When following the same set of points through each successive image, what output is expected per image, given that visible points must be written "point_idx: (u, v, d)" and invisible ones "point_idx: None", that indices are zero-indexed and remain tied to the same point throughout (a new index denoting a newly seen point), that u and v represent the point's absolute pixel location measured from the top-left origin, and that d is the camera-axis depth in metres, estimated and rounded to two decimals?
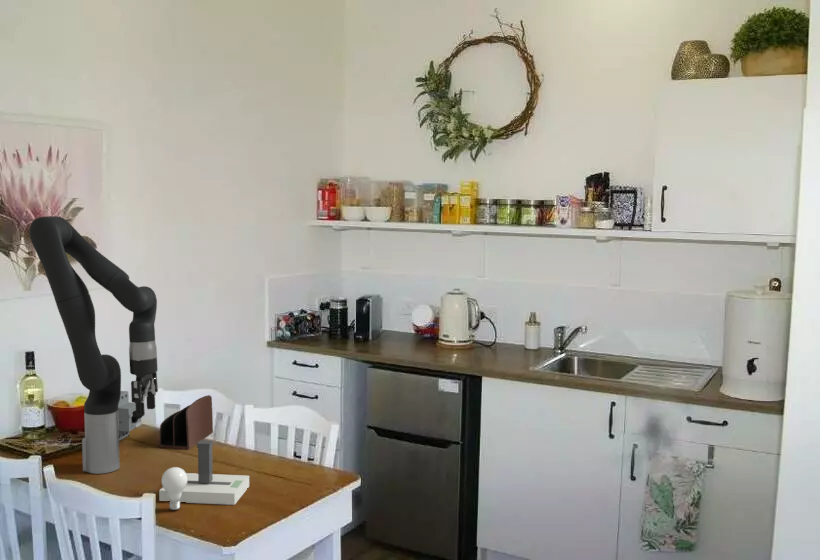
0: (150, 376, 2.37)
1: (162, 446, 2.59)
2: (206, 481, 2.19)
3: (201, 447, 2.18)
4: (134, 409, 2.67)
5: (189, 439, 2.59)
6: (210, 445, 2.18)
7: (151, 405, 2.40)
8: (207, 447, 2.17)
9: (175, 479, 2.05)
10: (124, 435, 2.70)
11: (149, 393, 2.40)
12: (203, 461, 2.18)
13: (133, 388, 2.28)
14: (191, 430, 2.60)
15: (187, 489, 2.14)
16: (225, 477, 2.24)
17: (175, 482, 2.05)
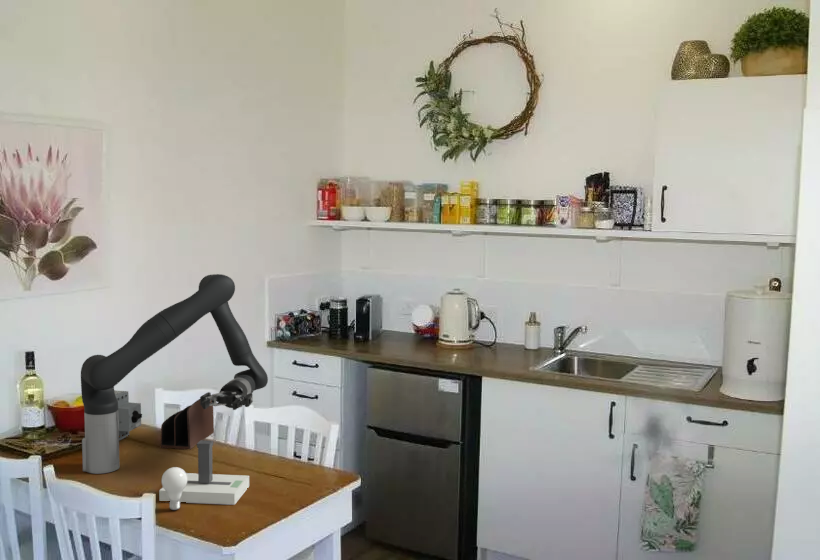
0: None
1: (163, 446, 2.59)
2: (206, 481, 2.19)
3: (201, 447, 2.18)
4: (134, 409, 2.67)
5: (190, 439, 2.59)
6: (210, 445, 2.18)
7: (206, 405, 2.31)
8: (207, 447, 2.17)
9: (175, 479, 2.05)
10: (124, 435, 2.70)
11: (209, 400, 2.35)
12: (203, 461, 2.18)
13: (251, 397, 2.38)
14: (192, 430, 2.60)
15: (187, 489, 2.14)
16: (225, 477, 2.24)
17: (175, 482, 2.05)
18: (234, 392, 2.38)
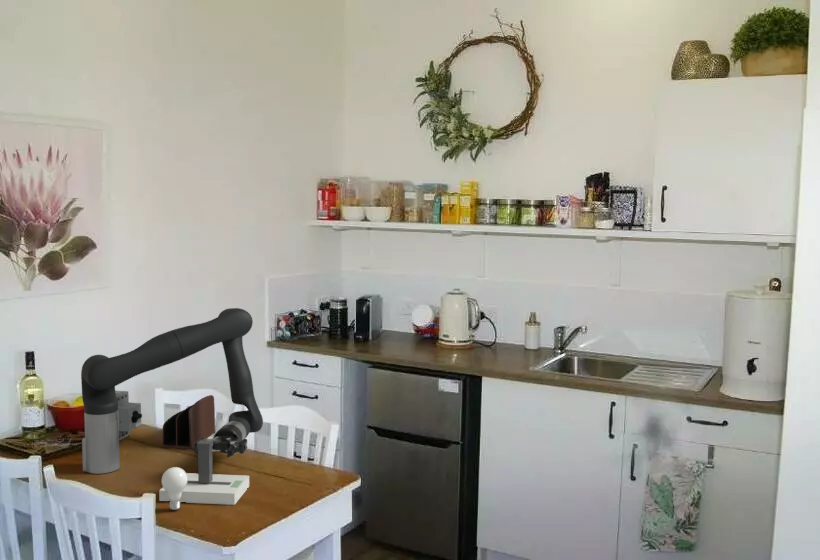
0: None
1: (165, 446, 2.59)
2: (206, 481, 2.19)
3: (201, 447, 2.18)
4: (134, 409, 2.67)
5: (192, 439, 2.59)
6: (210, 445, 2.18)
7: None
8: (207, 447, 2.17)
9: (175, 479, 2.05)
10: (124, 435, 2.70)
11: None
12: (203, 461, 2.18)
13: (246, 443, 2.34)
14: (194, 430, 2.60)
15: (187, 489, 2.14)
16: (225, 477, 2.24)
17: (175, 482, 2.05)
18: (229, 438, 2.34)
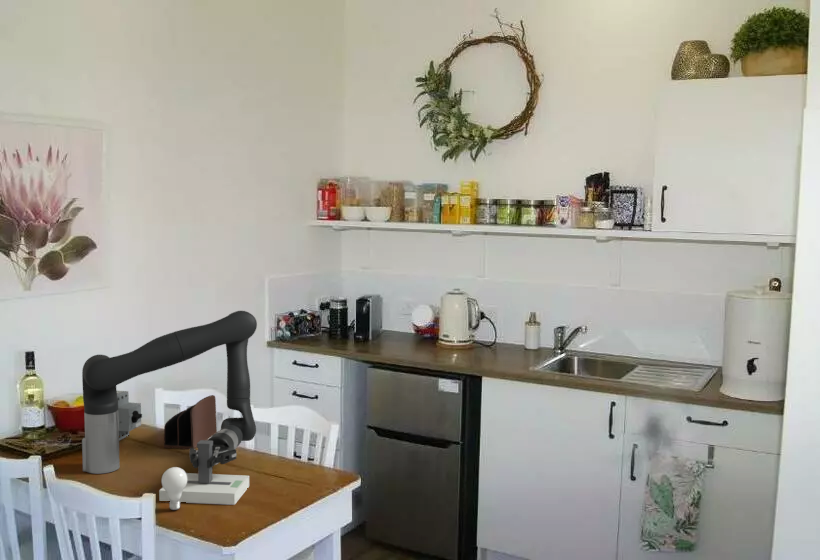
0: None
1: (166, 446, 2.60)
2: (206, 481, 2.19)
3: (201, 447, 2.18)
4: (134, 409, 2.67)
5: (194, 439, 2.59)
6: (210, 445, 2.18)
7: (197, 464, 2.18)
8: (207, 447, 2.17)
9: (175, 479, 2.05)
10: (124, 435, 2.70)
11: None
12: (203, 461, 2.18)
13: (232, 454, 2.24)
14: (195, 430, 2.60)
15: (187, 489, 2.14)
16: (225, 477, 2.24)
17: (175, 482, 2.05)
18: (218, 447, 2.25)
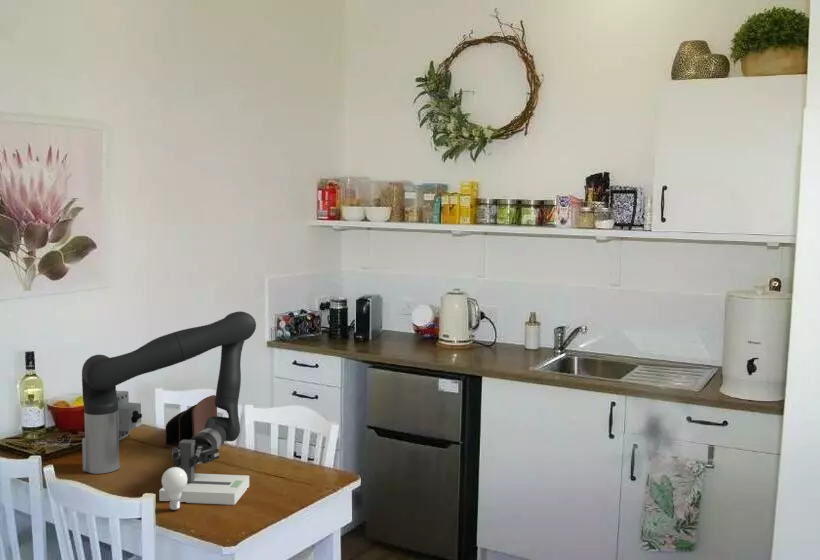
0: None
1: (168, 446, 2.60)
2: (188, 480, 2.19)
3: (183, 446, 2.18)
4: (134, 409, 2.67)
5: None
6: (192, 444, 2.18)
7: (179, 463, 2.18)
8: (189, 446, 2.18)
9: (175, 479, 2.05)
10: (124, 435, 2.70)
11: None
12: (184, 460, 2.18)
13: (214, 453, 2.24)
14: (197, 430, 2.61)
15: (187, 489, 2.14)
16: (225, 477, 2.24)
17: (175, 482, 2.05)
18: (200, 446, 2.26)
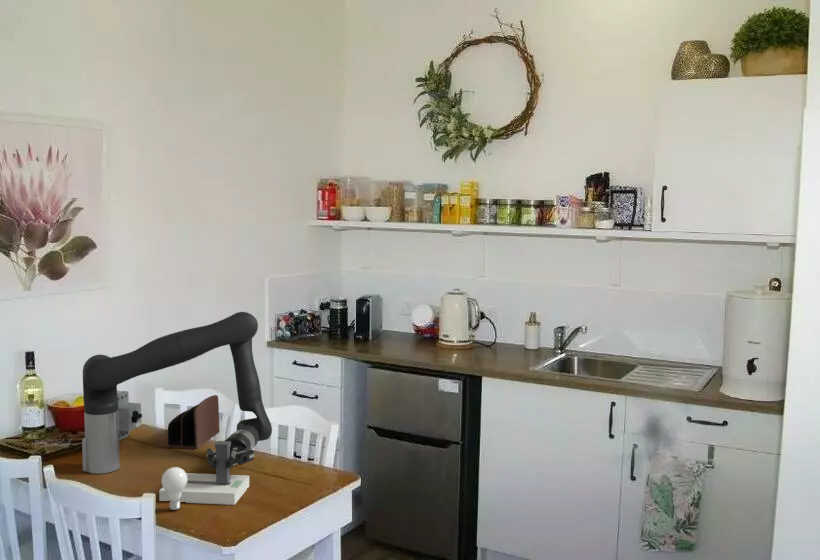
0: None
1: (170, 446, 2.60)
2: (224, 482, 2.18)
3: (219, 448, 2.17)
4: (134, 409, 2.67)
5: (197, 439, 2.59)
6: (228, 446, 2.18)
7: (215, 464, 2.17)
8: (225, 448, 2.17)
9: (175, 479, 2.05)
10: (124, 435, 2.70)
11: None
12: (220, 462, 2.18)
13: (249, 454, 2.23)
14: (199, 430, 2.61)
15: (187, 489, 2.14)
16: None
17: (175, 482, 2.05)
18: (235, 448, 2.25)
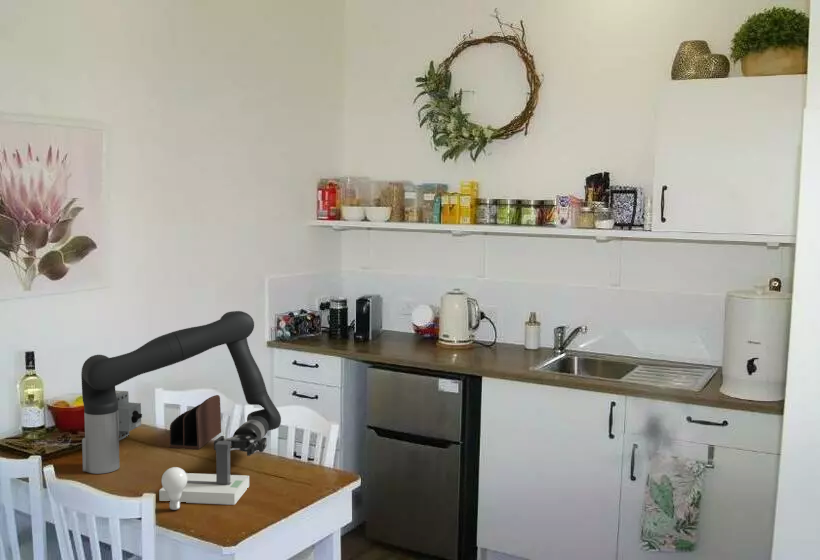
0: None
1: (172, 446, 2.60)
2: (224, 482, 2.18)
3: (219, 448, 2.17)
4: (134, 409, 2.67)
5: (199, 439, 2.59)
6: (228, 446, 2.18)
7: None
8: (225, 448, 2.17)
9: (175, 479, 2.05)
10: (124, 435, 2.70)
11: None
12: (221, 462, 2.18)
13: (265, 441, 2.35)
14: (201, 430, 2.61)
15: (187, 489, 2.14)
16: None
17: (175, 482, 2.05)
18: (248, 436, 2.36)
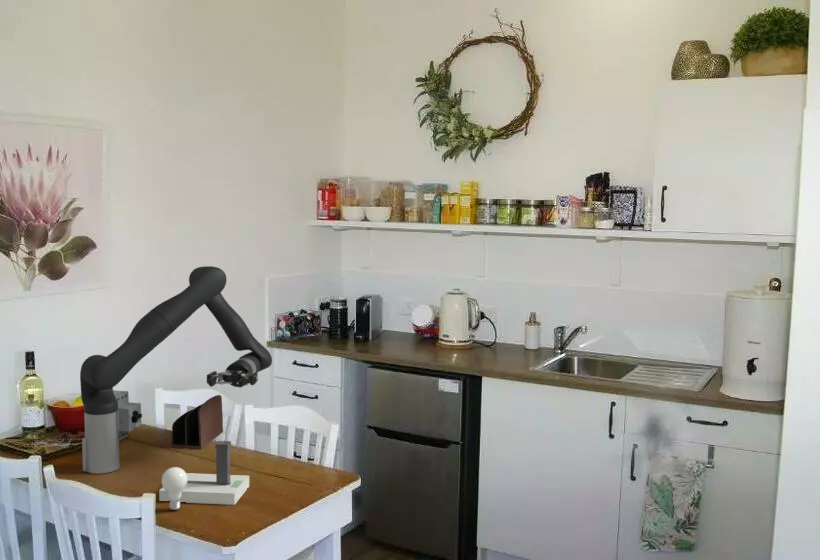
0: None
1: (174, 446, 2.60)
2: (224, 482, 2.18)
3: (219, 448, 2.17)
4: (134, 409, 2.67)
5: (201, 439, 2.59)
6: (228, 446, 2.18)
7: (212, 383, 2.37)
8: (225, 448, 2.17)
9: (175, 479, 2.05)
10: (124, 435, 2.70)
11: None
12: (221, 462, 2.18)
13: (256, 376, 2.43)
14: (203, 430, 2.61)
15: (187, 489, 2.14)
16: None
17: (175, 482, 2.05)
18: (240, 371, 2.44)
